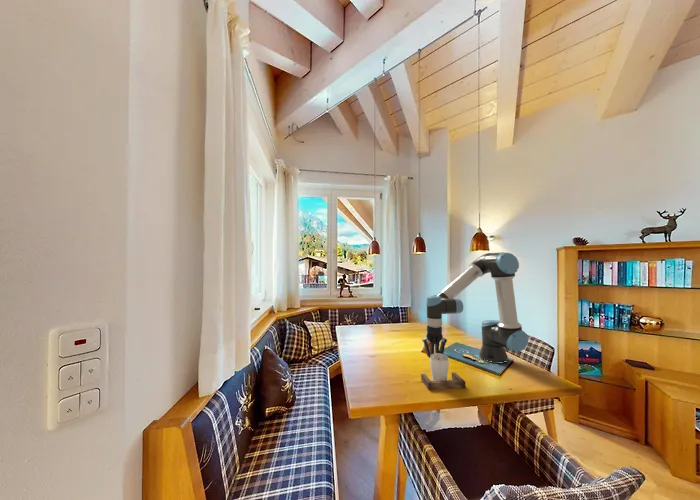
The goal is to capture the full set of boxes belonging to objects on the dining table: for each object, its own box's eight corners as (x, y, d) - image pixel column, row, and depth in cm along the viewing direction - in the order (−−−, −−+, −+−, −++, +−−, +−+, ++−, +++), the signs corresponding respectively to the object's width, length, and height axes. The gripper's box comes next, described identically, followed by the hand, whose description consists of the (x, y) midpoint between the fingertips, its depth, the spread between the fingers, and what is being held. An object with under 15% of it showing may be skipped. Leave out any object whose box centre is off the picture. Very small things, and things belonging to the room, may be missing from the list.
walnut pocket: (455, 378, 131) (455, 372, 132) (465, 388, 121) (465, 381, 122) (421, 379, 130) (421, 373, 130) (428, 389, 120) (428, 383, 120)
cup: (450, 386, 123) (449, 362, 123) (430, 384, 126) (430, 360, 125) (448, 376, 132) (447, 353, 132) (429, 374, 134) (429, 352, 134)
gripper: (443, 323, 139) (444, 367, 139) (419, 324, 138) (420, 368, 138) (449, 327, 132) (450, 373, 131) (424, 327, 131) (425, 374, 130)
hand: (434, 370), depth 134 cm, fingers closed
